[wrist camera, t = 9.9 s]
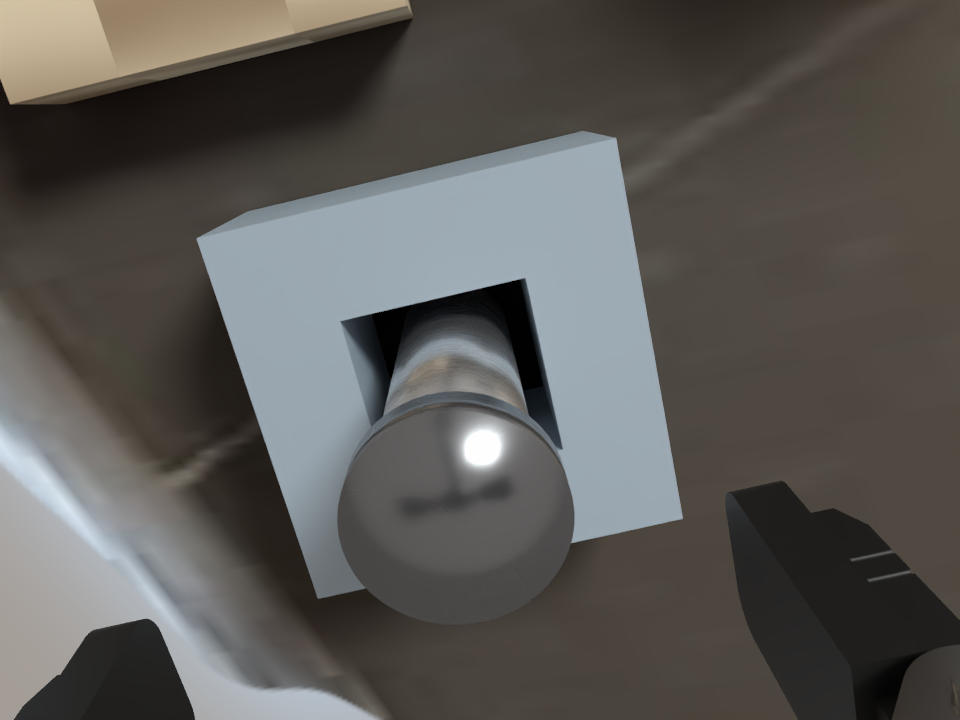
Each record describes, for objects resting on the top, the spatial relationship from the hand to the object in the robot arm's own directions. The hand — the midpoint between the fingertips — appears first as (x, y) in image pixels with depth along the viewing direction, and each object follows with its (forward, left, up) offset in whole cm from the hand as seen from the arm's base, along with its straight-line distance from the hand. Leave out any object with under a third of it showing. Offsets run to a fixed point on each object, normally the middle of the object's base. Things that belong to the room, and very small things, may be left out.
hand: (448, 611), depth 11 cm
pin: (0, 0, -15) cm, 15 cm away
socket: (0, 0, -15) cm, 15 cm away
